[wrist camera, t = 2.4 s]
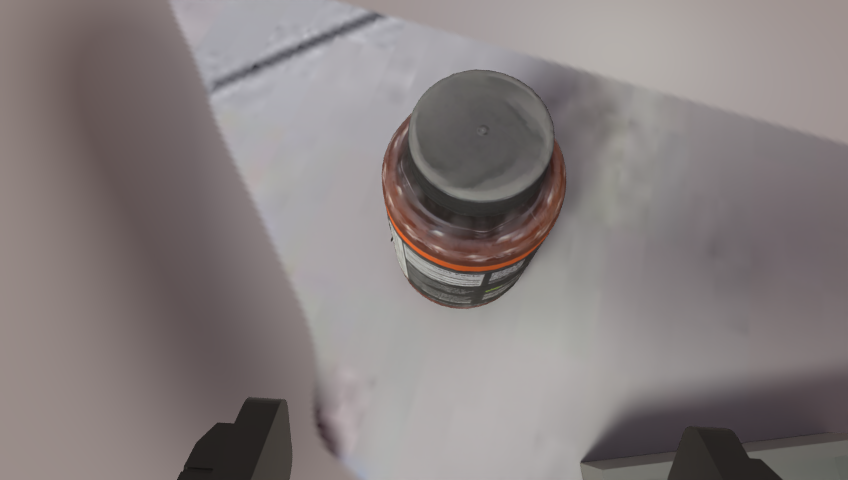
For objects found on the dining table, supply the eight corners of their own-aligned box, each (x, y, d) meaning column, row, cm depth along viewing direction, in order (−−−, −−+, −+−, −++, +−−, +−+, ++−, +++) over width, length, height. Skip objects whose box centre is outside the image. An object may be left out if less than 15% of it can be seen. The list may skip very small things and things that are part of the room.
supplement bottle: (444, 166, 27) (456, -1, 16) (549, 234, 26) (637, 104, 15) (369, 263, 25) (327, 152, 15) (477, 338, 24) (517, 280, 14)
